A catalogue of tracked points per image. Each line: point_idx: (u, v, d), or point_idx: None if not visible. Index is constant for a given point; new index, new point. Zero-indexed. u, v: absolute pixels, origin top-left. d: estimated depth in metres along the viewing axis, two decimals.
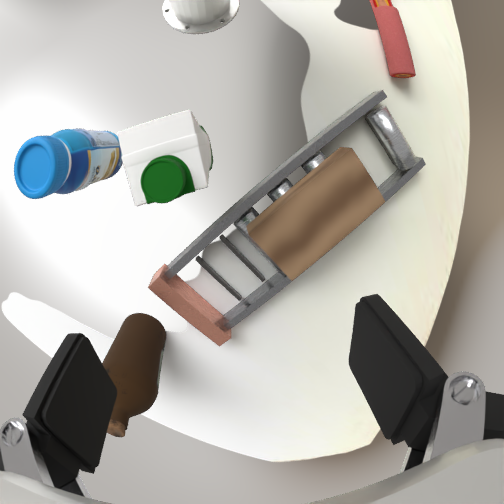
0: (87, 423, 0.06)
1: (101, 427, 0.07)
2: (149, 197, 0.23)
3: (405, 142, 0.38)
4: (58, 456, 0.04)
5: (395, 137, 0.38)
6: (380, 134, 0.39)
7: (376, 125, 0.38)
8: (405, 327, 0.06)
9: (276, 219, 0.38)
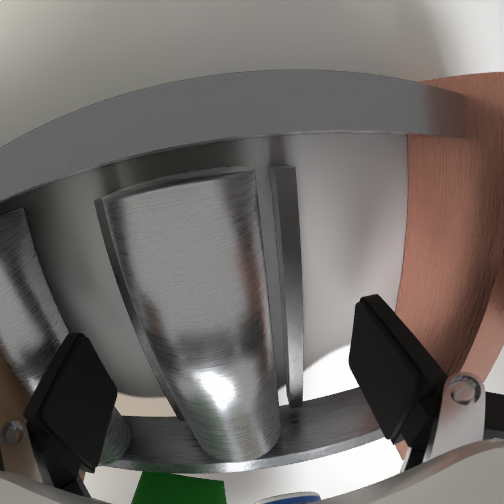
0: (87, 423, 0.06)
1: (101, 427, 0.07)
2: None
3: (162, 353, 0.07)
4: (58, 456, 0.04)
5: (225, 402, 0.07)
6: (275, 386, 0.09)
7: (276, 420, 0.10)
8: (405, 327, 0.06)
9: None
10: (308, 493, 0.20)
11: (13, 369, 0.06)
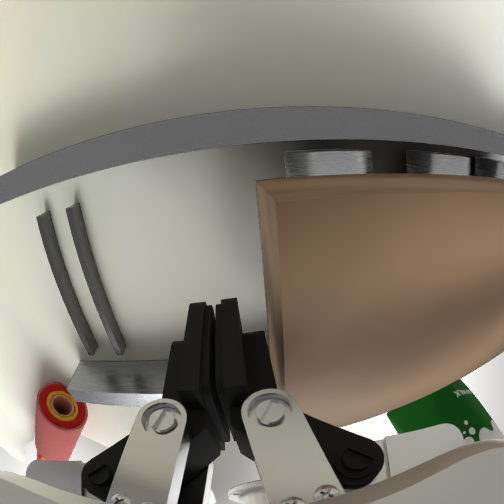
0: None
1: None
2: None
3: None
4: (211, 432, 0.06)
5: None
6: None
7: None
8: (240, 333, 0.07)
9: None
10: None
11: None
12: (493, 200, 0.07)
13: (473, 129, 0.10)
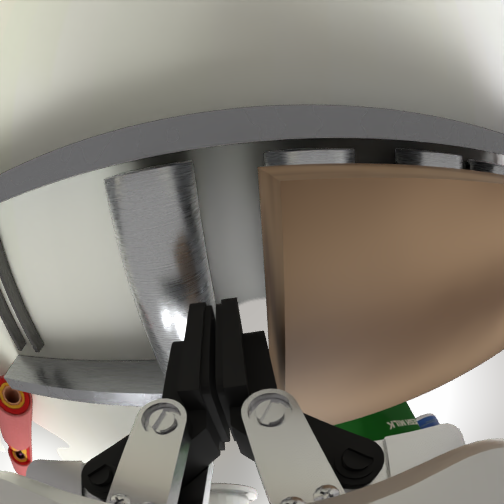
0: None
1: None
2: None
3: None
4: (211, 432, 0.06)
5: None
6: None
7: None
8: (240, 333, 0.07)
9: None
10: (431, 414, 0.26)
11: None
12: (496, 191, 0.06)
13: (359, 110, 0.10)
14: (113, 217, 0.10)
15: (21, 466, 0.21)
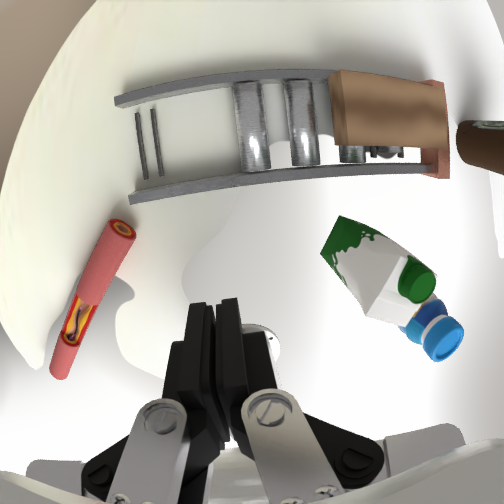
0: None
1: None
2: (435, 283, 0.25)
3: None
4: (211, 432, 0.06)
5: None
6: None
7: None
8: (240, 333, 0.07)
9: (430, 142, 0.32)
10: None
11: None
12: (391, 78, 0.28)
13: (312, 70, 0.31)
14: (237, 95, 0.31)
15: (69, 348, 0.42)
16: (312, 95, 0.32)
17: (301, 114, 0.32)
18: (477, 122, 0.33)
